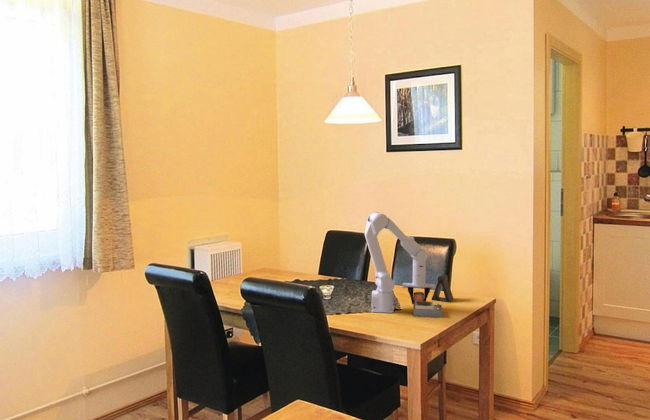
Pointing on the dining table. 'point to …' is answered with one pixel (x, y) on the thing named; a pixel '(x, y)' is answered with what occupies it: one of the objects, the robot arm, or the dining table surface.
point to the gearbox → (427, 309)
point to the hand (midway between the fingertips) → (418, 303)
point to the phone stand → (446, 288)
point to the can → (418, 296)
